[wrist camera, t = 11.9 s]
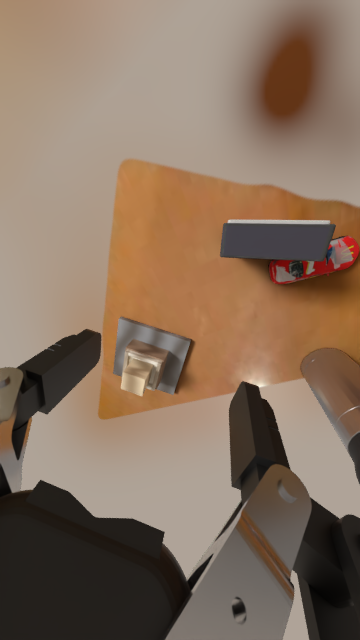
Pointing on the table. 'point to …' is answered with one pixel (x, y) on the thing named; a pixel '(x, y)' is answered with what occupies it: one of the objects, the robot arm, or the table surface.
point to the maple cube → (136, 376)
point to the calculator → (277, 239)
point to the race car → (316, 263)
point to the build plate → (156, 340)
